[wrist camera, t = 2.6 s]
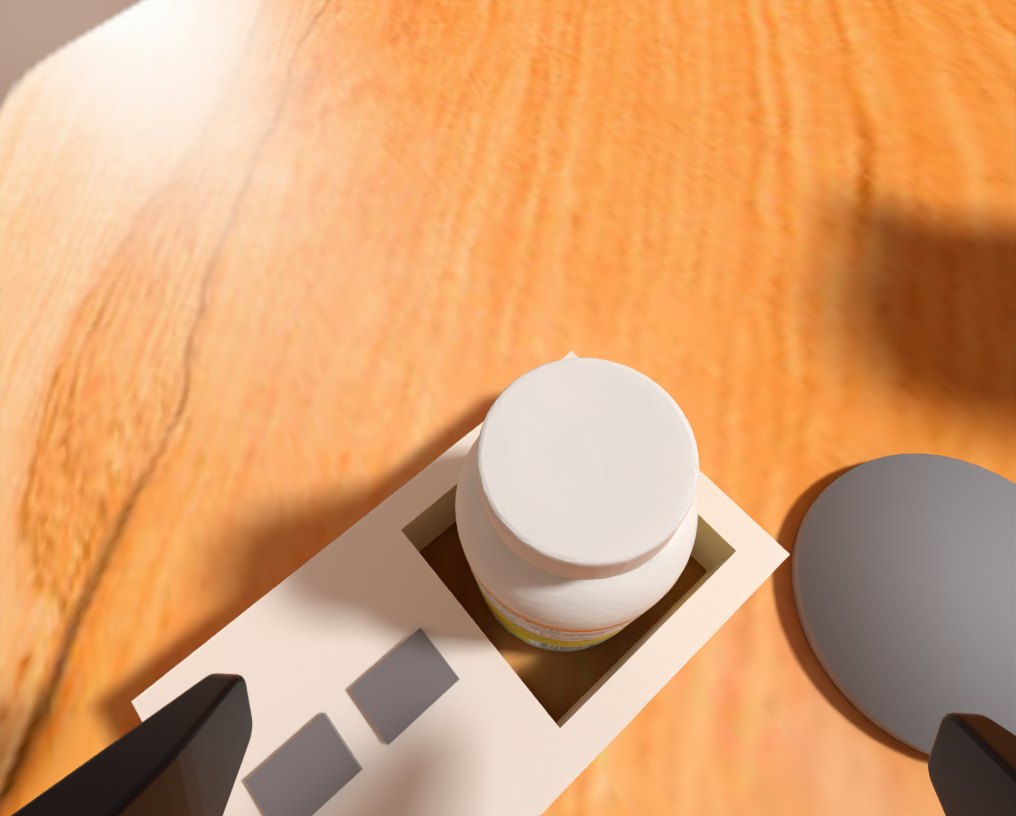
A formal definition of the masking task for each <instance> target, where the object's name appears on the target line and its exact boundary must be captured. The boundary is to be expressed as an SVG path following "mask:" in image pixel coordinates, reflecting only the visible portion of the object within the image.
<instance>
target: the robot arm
mask: <svg viewBox="0 0 1016 816" xmlns="http://www.w3.org/2000/svg"><path fill="white" fill-rule="evenodd" d="M251 734H252V715H251V709H250V703H249V697H248V692H247V686H246V682H245V679H244V678H243V677H242V676H241V675H238V674H223V673H214V674H210V675H208V676H206V677H205V678H203V679H202V680H201V681H199V682H198V683H196V684H195V685H193V686H192V687H191V688H189V689H188V690H186V691H185V692H184V693H182V694H181V695H179V696H178V697H177V698H175V699H174V700H172V701H171V702H170V703H168V704H167V705H165V706H164V707H163V708H161V709H160V710H158V711H157V712H156V713H154V714H153V715H151V716H150V717H149V718H147V719H146V720H144V721H143V722H142V723H140V724H139V725H137V726H136V727H135V728H133V729H132V730H130V731H129V732H128V733H126V734H125V735H123V736H122V737H121V738H119V739H118V740H116V741H115V742H113V743H112V744H111V745H109V746H108V747H106V748H105V749H104V750H102V751H101V752H99V753H98V754H97V755H95V756H94V757H92V758H91V759H90V760H88V761H87V762H85V763H84V764H83V765H81V766H80V767H78V768H77V769H76V770H74V771H73V772H71V773H70V774H69V775H67V776H66V777H64V778H63V779H62V780H60V781H59V782H57V783H56V784H55V785H53V786H52V787H50V788H49V789H48V790H46V791H45V792H43V793H42V794H40V795H39V796H38V797H36V798H35V799H33V800H32V801H31V802H29V803H28V804H26V805H25V806H24V807H22V808H21V809H19V810H18V811H17V812H15V813H14V814H12V815H11V816H223V814H224V811H225V808H226V806H227V803H228V800H229V797H230V794H231V792H232V789H233V786H234V783H235V781H236V778H237V775H238V772H239V769H240V767H241V764H242V761H243V758H244V755H245V753H246V750H247V747H248V744H249V741H250V738H251ZM928 771H929V775H930V779H931V782H932V785H933V787H934V789H935V792H936V794H937V796H938V799H939V801H940V803H941V806H942V808H943V810H944V813H945V815H946V816H1016V736H1015V735H1014V734H1012V733H1011V732H1009V731H1008V730H1006V729H1005V728H1003V727H1002V726H1000V725H999V724H997V723H996V722H994V721H993V720H991V719H990V718H988V717H986V716H984V715H980V714H972V713H953V712H952V713H948V714H946V715H945V716H944V717H943V718H942V720H941V723H940V726H939V729H938V732H937V734H936V737H935V740H934V743H933V746H932V749H931V752H930V755H929V759H928Z"/></svg>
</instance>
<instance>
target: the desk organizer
mask: <svg viewBox="0 0 1016 816" xmlns="http://www.w3.org/2000/svg"><path fill="white" fill-rule="evenodd" d="M570 358H578V357H577V356H576V355H575V354H574V353H573V352H572V351H571V352H570V353H569V354H568V355H566V356H565V357H564V358H563V359H570ZM563 359H561V360H563ZM483 422H484V421H483ZM483 422H482V423H481V424H480V425H478V426H477V427H476V428H475V429H473V430H472V431H471V432H470V433H468V434H467V435H466V436H465V437H463V438H462V439H461V440H459V441H458V442H457V443H456V444H454V445H453V446H452V447H451V448H449V449H448V450H447V451H446V452H444V453H443V454H442V455H441V456H439V457H438V458H437V459H436V460H434V461H433V462H432V463H431V464H429V465H428V466H427V467H426V468H424V469H423V470H422V471H420V472H419V473H418V474H417V475H415V476H414V477H413V478H412V479H410V480H409V481H408V482H407V483H405V484H404V485H403V486H402V487H400V488H399V489H398V490H397V491H395V492H394V493H393V494H392V495H390V496H389V497H388V498H387V499H385V500H384V501H383V502H382V503H380V504H379V505H378V506H376V507H375V508H374V509H373V510H371V511H370V512H369V513H368V514H366V515H365V516H364V517H363V518H361V519H360V520H359V521H358V522H356V523H355V524H354V525H353V526H351V527H350V528H349V529H348V530H346V531H345V532H344V533H343V534H341V535H340V536H339V537H338V538H336V539H335V540H334V541H332V542H331V543H330V544H329V545H327V546H326V547H325V548H324V549H322V550H321V551H320V552H319V553H317V554H316V555H315V556H314V557H312V558H311V559H310V560H309V561H307V562H306V563H305V564H304V565H302V566H301V567H300V568H299V569H297V570H296V571H295V572H294V573H292V574H291V575H290V576H288V577H287V578H286V579H285V580H283V581H282V582H281V583H280V584H278V585H277V586H276V587H275V588H273V589H272V590H271V591H270V592H268V593H267V594H266V595H265V596H263V597H262V598H261V599H260V600H258V601H257V602H256V603H255V604H253V605H252V606H251V607H249V608H248V609H247V610H246V611H244V612H243V613H242V614H241V615H239V616H238V617H237V618H236V619H234V620H233V621H232V622H231V623H229V624H228V625H227V626H226V627H224V628H223V629H222V630H221V631H219V632H218V633H217V634H216V635H214V636H213V637H212V638H211V639H209V640H208V641H207V642H205V643H204V644H203V645H202V646H200V647H199V648H198V649H197V650H195V651H194V652H193V653H192V654H190V655H189V656H188V657H187V658H185V659H184V660H183V661H182V662H180V663H179V664H178V665H177V666H175V667H174V668H173V669H172V670H170V671H169V672H168V673H167V674H165V675H164V676H163V677H161V678H160V679H159V680H158V681H156V682H155V683H154V684H153V685H151V686H150V687H149V688H148V689H146V690H145V691H144V692H143V693H141V694H140V695H139V696H138V697H136V698H135V699H134V700H133V701H131V702H132V704H133V706H134V707H135V709H136V711H137V713H138V715H139V717H140V719H141V721H142V722H143V721H144V720H146V719H147V718H149V717H150V716H151V715H153V714H154V713H156V712H157V711H158V710H160V709H161V708H163V707H164V706H165V705H167V704H168V703H170V702H171V701H172V700H174V699H175V698H177V697H178V696H179V695H181V694H182V693H184V692H185V691H186V690H188V689H189V688H191V687H192V686H193V685H195V684H196V683H198V682H199V681H201V680H202V679H203V678H205V677H206V676H208V675H210V674H214V673H223V674H238V675H241V676H242V677H243V678H244V679H245V682H246V686H247V692H248V697H249V703H250V709H251V715H252V734H251V738H250V741H249V744H248V747H247V750H246V753H245V755H244V758H243V761H242V764H241V767H240V769H239V772H238V775H237V778H236V781H235V783H234V786H233V789H232V792H231V794H230V797H229V800H228V803H227V806H226V808H225V811H224V814H223V816H540V815H541V814H542V813H543V812H544V811H545V810H546V809H547V808H548V807H549V806H550V805H551V804H552V803H553V801H554V800H555V799H556V798H557V797H558V796H559V795H560V794H561V793H562V792H563V791H564V790H565V789H566V788H567V787H568V786H569V785H570V784H571V783H572V782H573V781H574V780H575V778H576V777H577V776H578V775H579V774H580V773H581V772H582V771H583V770H584V769H585V768H586V767H587V766H588V765H589V764H590V763H591V762H592V761H593V760H594V759H595V758H596V757H597V755H598V754H599V753H600V752H601V751H602V750H603V749H604V748H605V747H606V746H607V745H608V744H609V743H610V742H611V741H612V740H613V739H614V738H615V737H616V736H617V735H618V734H619V733H620V731H621V730H622V729H623V728H624V727H625V726H626V725H627V724H628V723H629V722H630V721H631V720H632V719H633V718H634V717H635V716H636V715H637V714H638V713H639V712H640V711H641V710H642V708H643V707H644V706H645V705H646V704H647V703H648V702H649V701H650V700H651V699H652V698H653V697H654V696H655V695H656V694H657V693H658V692H659V691H660V690H661V689H662V688H663V687H664V685H665V684H666V683H667V682H668V681H669V680H670V679H671V678H672V677H673V676H674V675H675V674H676V673H677V672H678V671H679V670H680V669H681V668H682V667H683V666H684V665H685V664H686V662H687V661H688V660H689V659H690V658H691V657H692V656H693V655H694V654H695V653H696V652H697V651H698V650H699V649H700V648H701V647H702V646H703V645H704V644H705V643H706V642H707V641H708V639H709V638H710V637H711V636H712V635H713V634H714V633H715V632H716V631H717V630H718V629H719V628H720V627H721V626H722V625H723V624H724V623H725V622H726V621H727V620H728V619H729V618H730V617H731V615H732V614H733V613H734V612H735V611H736V610H737V609H738V608H739V607H740V606H741V605H742V604H743V603H744V602H745V601H746V600H747V599H748V598H749V597H750V596H751V595H752V594H753V592H754V591H755V590H756V589H757V588H758V587H759V586H760V585H761V584H762V583H763V582H764V581H765V580H766V579H767V578H768V577H769V576H770V575H771V574H772V573H773V572H774V571H775V569H776V568H777V567H778V566H779V565H780V564H781V563H782V562H783V561H784V560H785V559H786V558H787V557H788V556H789V555H790V554H789V553H788V552H787V551H786V550H785V549H784V548H783V547H782V546H780V545H779V544H778V543H777V542H776V541H775V540H774V539H773V538H772V537H771V536H770V535H769V534H768V533H766V532H765V531H764V530H763V529H762V528H761V527H760V526H759V525H758V524H757V523H756V522H755V521H754V520H753V519H751V518H750V517H749V516H748V515H747V514H746V513H745V512H744V511H743V510H742V509H741V508H740V507H739V506H737V505H736V504H735V503H734V502H733V501H732V500H731V499H730V498H729V497H728V496H727V495H726V494H725V493H723V492H722V491H721V490H720V489H719V488H718V487H717V486H716V485H715V484H714V483H713V482H712V481H711V480H710V479H708V478H707V477H706V476H705V475H704V474H703V473H702V472H701V471H700V470H699V475H698V483H697V488H696V495H697V504H698V522H697V531H696V537H695V542H694V545H693V548H692V551H691V554H690V555H691V556H692V557H693V558H694V559H695V560H696V561H697V562H698V563H699V564H700V565H701V566H702V567H703V568H704V569H705V570H706V571H707V572H706V573H705V574H704V575H703V576H702V577H701V578H700V579H699V580H698V581H697V582H696V583H695V584H694V585H693V586H692V587H691V588H690V589H689V590H688V591H687V592H686V593H685V594H684V595H683V596H682V597H681V598H680V599H679V600H678V601H677V602H676V603H675V604H674V605H673V606H672V607H671V608H670V609H669V610H668V611H667V612H666V613H665V614H664V615H663V616H662V617H661V618H660V619H659V620H658V621H657V622H656V623H655V624H654V625H653V626H652V627H651V628H650V629H649V630H648V631H647V632H646V633H645V634H644V635H643V636H642V637H641V638H640V639H639V640H638V641H637V642H636V643H635V644H634V645H633V646H632V647H631V648H630V649H629V650H628V651H627V652H626V653H625V654H624V655H623V656H622V657H621V658H620V659H619V660H618V661H617V662H616V663H615V664H614V665H613V666H612V667H611V668H610V669H609V670H608V671H607V672H606V673H605V674H604V675H603V676H602V677H601V678H600V679H599V680H598V681H597V682H596V683H595V684H594V685H593V686H592V687H591V688H590V689H589V690H588V691H587V692H586V693H585V694H584V695H583V696H582V697H581V698H580V699H579V700H578V701H577V702H576V703H575V704H574V705H573V706H572V707H571V708H570V709H569V710H568V711H567V712H566V713H565V714H564V715H563V716H562V717H561V718H560V719H559V720H558V721H557V722H556V723H555V722H554V720H553V719H552V718H551V717H550V715H549V714H548V713H547V712H546V710H545V709H544V708H543V707H542V705H541V704H540V703H539V702H538V700H537V699H536V698H535V697H534V695H533V694H532V693H531V692H530V690H529V689H528V688H527V687H526V685H525V684H524V683H523V682H522V680H521V679H520V678H519V677H518V675H517V674H516V673H515V672H514V670H513V669H512V668H511V667H510V665H509V664H508V663H507V662H506V660H505V659H504V658H503V657H502V655H501V654H500V653H499V652H498V650H497V649H496V648H495V647H494V645H493V644H492V643H491V642H490V640H489V639H488V638H487V637H486V635H485V634H484V633H483V632H482V630H481V629H480V628H479V627H478V625H477V624H476V623H475V622H474V620H473V619H472V618H471V617H470V615H469V614H468V613H467V612H466V610H465V609H464V608H463V607H462V605H461V604H460V603H459V602H458V600H457V599H456V598H455V597H454V595H453V594H452V593H451V592H450V590H449V589H448V588H447V587H446V585H445V584H444V583H443V582H442V580H441V579H440V578H439V577H438V576H437V574H436V573H435V572H434V571H433V569H432V568H431V567H430V566H429V564H428V563H427V562H426V561H425V559H424V558H423V557H422V556H421V554H420V553H419V552H420V551H421V550H422V549H423V548H425V547H426V546H427V545H428V544H429V543H431V542H432V541H433V540H434V539H435V538H437V537H438V536H439V535H440V534H441V533H442V532H444V531H445V530H446V529H447V528H448V527H450V526H451V525H452V524H453V523H454V522H456V511H455V500H456V490H457V484H458V479H459V475H460V472H461V469H462V466H463V463H464V461H465V458H466V456H467V454H468V452H469V450H470V449H471V447H472V445H473V443H474V442H475V440H476V439H477V438H478V436H479V434H480V431H481V428H482V425H483Z"/></svg>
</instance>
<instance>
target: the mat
mask: <svg viewBox="0 0 1016 816" xmlns="http://www.w3.org/2000/svg"><path fill="white" fill-rule="evenodd" d="M791 575H792V590H793V595H794V600H795V606H796V610H797V613H798V616H799V619H800V623H801V626H802V629H803V631H804V633H805V636H806V638H807V640H808V642H809V645H810V647H811V649H812V651H813V652H814V654H815V656H816V658H817V659H818V661H819V663H820V664H821V666H822V668H823V669H824V671H825V672H826V673H827V675H828V676H829V678H830V679H831V680H832V682H833V683H834V684H835V686H836V687H837V688H838V689H839V691H840V692H841V693H842V694H843V695H844V696H845V697H846V698H847V699H848V700H849V702H850V703H851V704H852V705H853V706H854V707H855V708H856V709H858V710H859V711H860V712H861V713H862V714H863V715H864V716H865V717H866V718H868V719H869V720H870V721H871V722H872V723H874V724H875V725H876V726H878V727H879V728H880V729H882V730H883V731H885V732H886V733H887V734H889V735H890V736H892V737H893V738H895V739H897V740H899V741H900V742H902V743H904V744H906V745H907V746H909V747H911V748H913V749H915V750H917V751H920V752H922V753H924V754H927V755H930V752H931V749H932V746H933V743H934V740H935V737H936V734H937V732H938V729H939V726H940V723H941V720H942V718H943V717H944V716H945V715H946V714H948V713H952V712H953V713H972V714H980V715H984V716H986V717H988V718H990V719H991V720H993V721H994V722H996V723H997V724H999V725H1000V726H1002V727H1003V728H1005V729H1006V730H1008V731H1009V732H1011V733H1012V734H1014V735H1015V736H1016V484H1014V483H1013V482H1011V481H1009V480H1007V479H1005V478H1004V477H1002V476H1000V475H998V474H996V473H994V472H991V471H989V470H987V469H985V468H982V467H980V466H977V465H974V464H971V463H968V462H965V461H962V460H958V459H954V458H949V457H945V456H939V455H930V454H899V455H892V456H885V457H882V458H878V459H874V460H871V461H868V462H866V463H864V464H861V465H859V466H857V467H855V468H853V469H851V470H850V471H848V472H847V473H845V474H843V475H842V476H840V477H839V478H838V479H836V480H835V481H833V482H832V483H831V484H830V485H829V486H827V487H826V488H825V489H824V490H823V491H822V492H821V493H820V494H819V495H818V496H817V498H816V499H815V500H814V501H813V502H812V504H811V505H810V507H809V508H808V510H807V512H806V513H805V515H804V517H803V519H802V521H801V524H800V526H799V529H798V531H797V534H796V538H795V543H794V547H793V552H792V565H791Z"/></svg>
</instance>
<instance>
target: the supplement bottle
mask: <svg viewBox="0 0 1016 816" xmlns="http://www.w3.org/2000/svg"><path fill="white" fill-rule="evenodd" d="M698 475H699V459H698V451H697V445H696V442H695V438H694V435H693V432H692V429H691V427H690V425H689V423H688V421H687V419H686V417H685V415H684V413H683V412H682V411H681V409H680V408H679V406H678V405H677V403H676V402H675V401H674V400H673V399H672V398H671V396H670V395H669V394H668V393H667V392H666V391H665V390H664V389H663V388H661V387H660V386H659V385H658V384H657V383H656V382H654V381H653V380H651V379H650V378H648V377H647V376H645V375H643V374H641V373H640V372H638V371H636V370H634V369H632V368H630V367H627V366H624V365H621V364H618V363H615V362H611V361H607V360H602V359H596V358H570V359H563V360H558V361H554V362H550V363H547V364H544V365H541V366H539V367H537V368H535V369H533V370H530V371H529V372H527V373H525V374H523V375H522V376H520V377H519V378H517V379H516V380H515V381H514V382H512V383H511V384H510V385H509V386H508V387H507V388H506V389H505V390H504V391H503V392H502V393H501V394H500V395H499V396H498V398H497V399H496V400H495V402H494V403H493V405H492V406H491V408H490V409H489V411H488V413H487V415H486V418H485V420H484V422H483V425H482V428H481V431H480V434H479V436H478V438H477V439H476V440H475V442H474V443H473V445H472V447H471V449H470V450H469V452H468V454H467V456H466V458H465V461H464V463H463V466H462V469H461V472H460V475H459V479H458V484H457V490H456V500H455V511H456V522H457V529H458V534H459V538H460V541H461V544H462V547H463V550H464V553H465V556H466V558H467V561H468V563H469V566H470V568H471V570H472V572H473V574H474V577H475V579H476V581H477V584H478V586H479V589H480V591H481V594H482V597H483V599H484V601H485V603H486V605H487V606H488V608H489V610H490V611H491V613H492V614H493V615H494V617H495V618H496V619H497V620H498V621H499V623H500V624H501V625H502V626H503V627H504V628H505V629H506V630H508V631H509V632H510V633H511V634H513V635H514V636H516V637H517V638H519V639H521V640H523V641H524V642H526V643H528V644H530V645H533V646H536V647H538V648H542V649H545V650H551V651H561V652H567V651H577V650H583V649H587V648H590V647H593V646H595V645H598V644H600V643H602V642H604V641H606V640H608V639H610V638H611V637H613V636H614V635H616V634H617V633H618V632H620V631H621V630H622V629H624V628H625V627H626V626H627V625H628V624H629V623H631V622H632V621H633V620H635V619H636V618H638V617H639V616H640V615H642V614H643V613H644V612H646V611H647V610H648V609H650V608H651V607H652V606H653V605H654V604H656V603H657V602H658V601H659V600H660V599H661V598H662V597H663V596H664V595H665V594H666V593H667V592H668V591H669V590H670V589H671V588H672V586H673V585H674V584H675V582H676V581H677V579H678V578H679V576H680V575H681V573H682V571H683V570H684V568H685V566H686V564H687V562H688V560H689V557H690V554H691V551H692V548H693V545H694V542H695V537H696V531H697V522H698V504H697V495H696V488H697V483H698Z"/></svg>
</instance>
